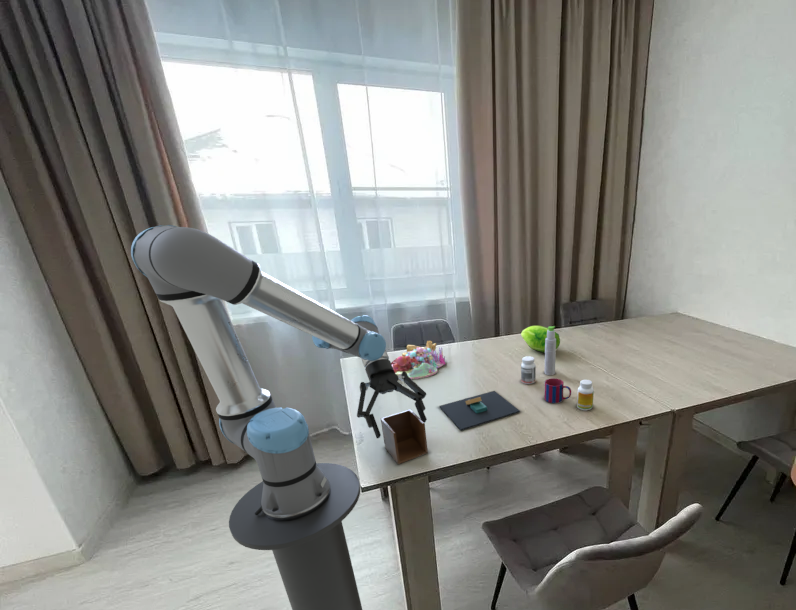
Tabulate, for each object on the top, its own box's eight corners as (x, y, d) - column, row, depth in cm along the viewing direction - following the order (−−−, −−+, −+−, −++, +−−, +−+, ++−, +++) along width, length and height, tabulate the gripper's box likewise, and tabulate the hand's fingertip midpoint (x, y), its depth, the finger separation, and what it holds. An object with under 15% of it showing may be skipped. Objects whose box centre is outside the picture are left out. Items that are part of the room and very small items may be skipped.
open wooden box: (385, 447, 117) (380, 418, 113) (413, 437, 122) (410, 409, 118) (398, 464, 110) (393, 433, 106) (428, 453, 115) (424, 423, 111)
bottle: (556, 374, 164) (558, 328, 156) (546, 375, 163) (548, 329, 155) (552, 370, 168) (554, 324, 160) (542, 371, 167) (543, 326, 159)
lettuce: (533, 341, 202) (533, 319, 197) (567, 353, 186) (568, 329, 181) (514, 347, 194) (514, 324, 190) (547, 360, 178) (548, 335, 174)
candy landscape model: (389, 360, 180) (386, 340, 177) (441, 353, 187) (439, 335, 183) (391, 382, 159) (388, 360, 155) (450, 374, 165) (449, 353, 162)
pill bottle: (528, 377, 162) (528, 354, 158) (538, 381, 158) (538, 358, 154) (518, 381, 158) (518, 358, 154) (528, 385, 154) (528, 362, 151)
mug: (551, 393, 149) (551, 376, 146) (574, 401, 143) (575, 383, 140) (540, 399, 144) (541, 382, 141) (564, 408, 138) (564, 390, 135)
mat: (461, 430, 125) (460, 429, 125) (439, 407, 139) (439, 405, 139) (519, 412, 136) (519, 410, 135) (494, 392, 150) (494, 390, 150)
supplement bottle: (594, 410, 136) (596, 384, 132) (578, 411, 136) (580, 385, 132) (590, 403, 141) (592, 378, 137) (575, 403, 141) (576, 378, 137)
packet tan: (470, 399, 135) (471, 403, 135) (480, 396, 137) (481, 400, 137) (465, 401, 140) (466, 405, 139) (475, 398, 141) (476, 402, 141)
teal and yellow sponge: (476, 410, 133) (476, 413, 134) (487, 406, 135) (487, 410, 136) (470, 404, 137) (470, 407, 138) (480, 401, 139) (480, 404, 140)
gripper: (414, 360, 128) (438, 419, 123) (332, 379, 115) (356, 447, 109) (419, 349, 122) (445, 411, 117) (333, 368, 109) (359, 439, 103)
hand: (402, 429), depth 113 cm, fingers open, 13 cm apart
